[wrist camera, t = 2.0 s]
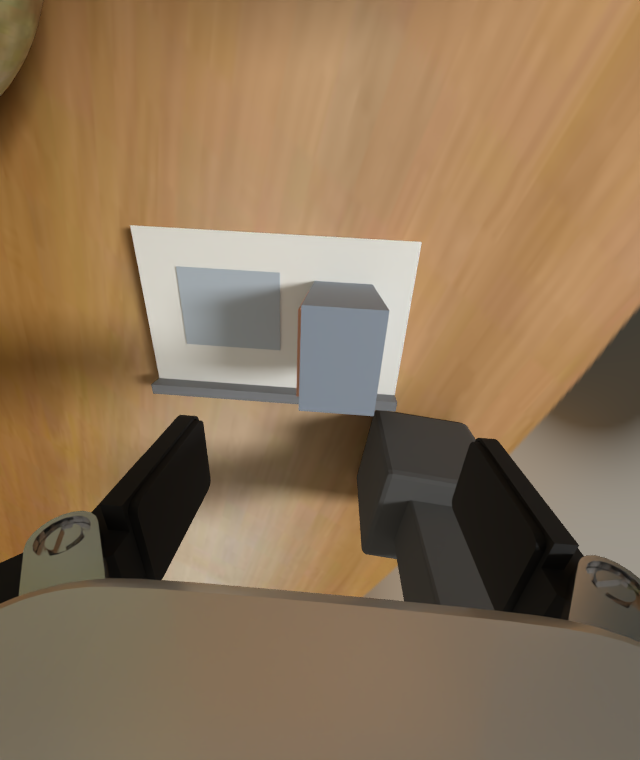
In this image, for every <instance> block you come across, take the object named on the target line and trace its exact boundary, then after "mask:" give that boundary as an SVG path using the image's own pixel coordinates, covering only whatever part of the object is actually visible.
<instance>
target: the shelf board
mask: <svg viewBox="0 0 640 760" xmlns="http://www.w3.org/2000/svg"><path fill="white" fill-rule="evenodd" d="M130 227H131V232H132V238H133V243H134V248H135V253H136V258H137V264H138V269H139V274H140V279H141V284H142V290H143V295H144V300H145V305H146V310H147V316H148V321H149V326H150V331H151V336H152V342H153V347H154V352H155V357H156V362H157V368H158V373H159V379H158V380H156V381H155V382H154V383H153V384H151V385H152V390H153V393H154V394H168V395H181V396H194V397H208V398H221V399H235V400H248V401H261V402H275V403H288V404H299V397H296V386H297V338H298V309H299V307H300V305H301V303H302V302H303V300H304V298H305V296H306V294H307V293H308V291H309V290H310V288H311V286H312V285H313V283H314V281H325V282H341V283H358V284H373V286H374V287H375V289H376V290H377V292H378V294H379V295H380V297H381V298H382V300H383V301H384V303H385V304H386V306H387V308H388V309H389V318H388V324H387V331H386V338H385V344H384V351H383V358H382V364H381V371H380V378H379V385H378V391H377V398H376V405H375V410H382V411H396V406H397V401H396V398H395V390H396V384H397V379H398V373H399V367H400V362H401V356H402V351H403V345H404V339H405V334H406V328H407V322H408V317H409V311H410V305H411V300H412V294H413V288H414V283H415V277H416V272H417V266H418V260H419V255H420V249H421V243H422V242H414V241H397V240H379V239H362V238H344V237H327V236H309V235H292V234H274V233H257V232H239V231H222V230H204V229H187V228H169V227H152V226H132V225H130Z"/></svg>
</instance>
